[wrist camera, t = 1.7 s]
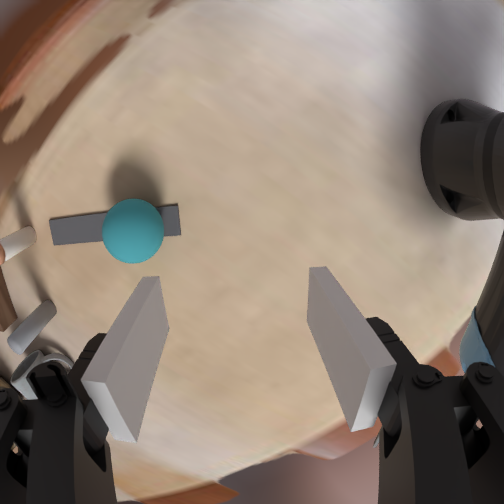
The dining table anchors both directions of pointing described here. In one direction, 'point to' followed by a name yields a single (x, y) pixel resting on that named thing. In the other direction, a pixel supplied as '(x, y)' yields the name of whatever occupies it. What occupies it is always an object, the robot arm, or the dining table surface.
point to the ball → (133, 231)
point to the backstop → (5, 306)
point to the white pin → (16, 243)
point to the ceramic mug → (27, 365)
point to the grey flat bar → (91, 226)
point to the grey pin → (31, 327)
